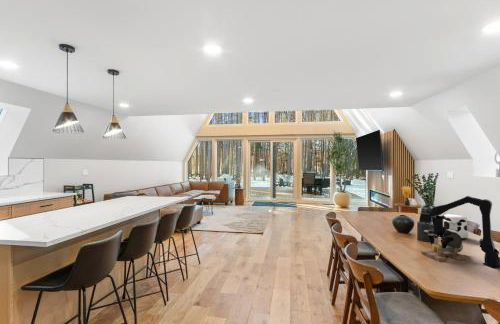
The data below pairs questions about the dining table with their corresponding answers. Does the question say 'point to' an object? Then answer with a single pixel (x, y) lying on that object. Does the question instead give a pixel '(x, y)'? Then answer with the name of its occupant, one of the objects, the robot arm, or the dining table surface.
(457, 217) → the milk container
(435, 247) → the bight saddle
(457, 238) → the coffee can
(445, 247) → the robot arm
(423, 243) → the dining table surface
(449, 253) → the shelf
